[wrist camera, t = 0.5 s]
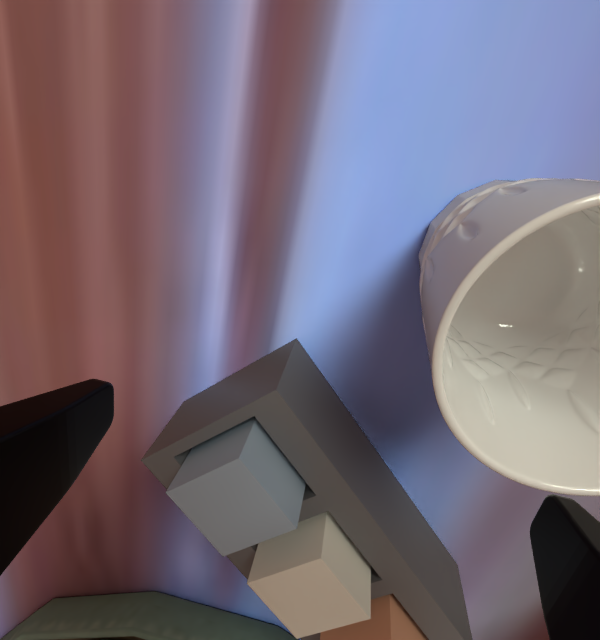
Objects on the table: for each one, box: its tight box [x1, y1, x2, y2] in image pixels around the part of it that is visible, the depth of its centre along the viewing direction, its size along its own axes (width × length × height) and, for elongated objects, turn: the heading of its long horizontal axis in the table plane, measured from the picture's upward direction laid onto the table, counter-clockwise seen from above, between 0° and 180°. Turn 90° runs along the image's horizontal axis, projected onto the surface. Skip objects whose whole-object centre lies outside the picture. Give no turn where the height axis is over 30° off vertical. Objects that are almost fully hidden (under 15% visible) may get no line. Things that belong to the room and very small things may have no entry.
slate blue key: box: [166, 416, 306, 556], centre depth 19 cm, size 4×4×3 cm
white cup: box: [419, 178, 600, 496], centre depth 14 cm, size 8×8×10 cm
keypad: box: [141, 338, 472, 640], centre depth 23 cm, size 18×8×5 cm, turn 34°
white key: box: [247, 511, 371, 639], centre depth 20 cm, size 4×4×3 cm
